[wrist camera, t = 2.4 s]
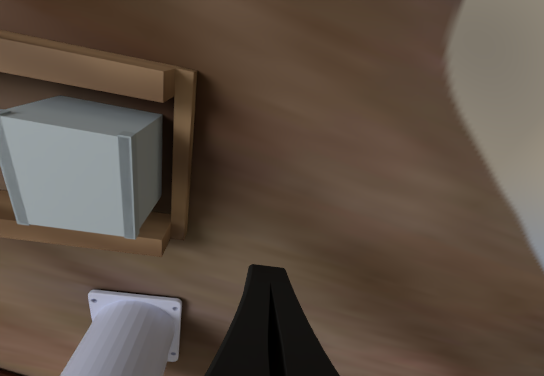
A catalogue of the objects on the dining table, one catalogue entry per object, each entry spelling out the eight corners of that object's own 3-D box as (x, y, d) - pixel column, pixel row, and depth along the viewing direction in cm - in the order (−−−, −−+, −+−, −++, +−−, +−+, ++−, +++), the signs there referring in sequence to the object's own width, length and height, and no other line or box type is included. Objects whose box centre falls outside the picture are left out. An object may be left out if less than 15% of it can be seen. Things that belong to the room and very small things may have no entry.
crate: (163, 196, 20) (135, 239, 15) (73, 182, 19) (17, 224, 15) (164, 112, 17) (130, 137, 13) (59, 92, 16) (-16, 111, 12)
